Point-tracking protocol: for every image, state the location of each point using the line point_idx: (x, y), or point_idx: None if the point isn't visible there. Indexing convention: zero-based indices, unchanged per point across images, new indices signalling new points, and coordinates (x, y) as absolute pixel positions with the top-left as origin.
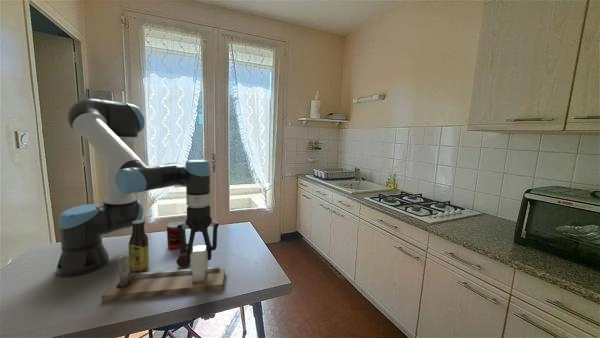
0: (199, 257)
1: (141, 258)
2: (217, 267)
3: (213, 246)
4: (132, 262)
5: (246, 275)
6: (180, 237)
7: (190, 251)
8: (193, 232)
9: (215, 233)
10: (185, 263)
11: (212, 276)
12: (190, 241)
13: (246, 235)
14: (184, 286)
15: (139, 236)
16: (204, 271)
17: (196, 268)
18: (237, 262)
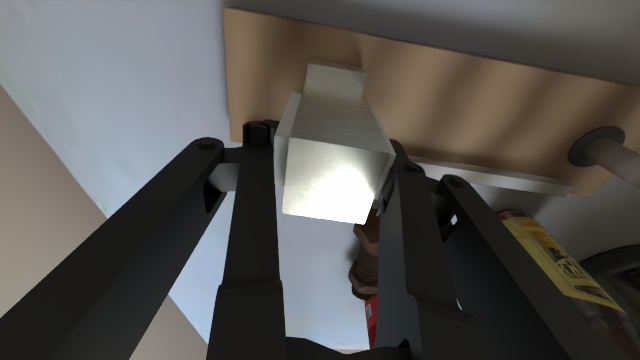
0: (331, 120)
1: (536, 251)
2: None
3: (205, 156)
4: (557, 242)
5: (142, 90)
6: (559, 293)
7: (398, 167)
8: (438, 348)
9: (70, 271)
10: (374, 217)
11: (276, 97)
12: (424, 231)
13: (197, 304)
14: (396, 54)
15: (621, 356)
16: (306, 83)
17: (347, 98)
18: None
